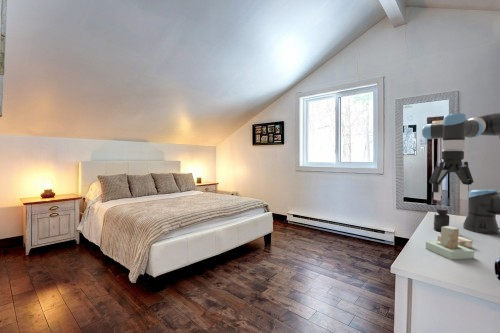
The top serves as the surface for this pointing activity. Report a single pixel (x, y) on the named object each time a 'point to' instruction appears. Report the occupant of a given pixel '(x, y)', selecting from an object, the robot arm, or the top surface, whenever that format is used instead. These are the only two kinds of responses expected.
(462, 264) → the top surface
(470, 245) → the stand
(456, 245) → the box
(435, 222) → the supplement bottle
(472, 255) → the socket
